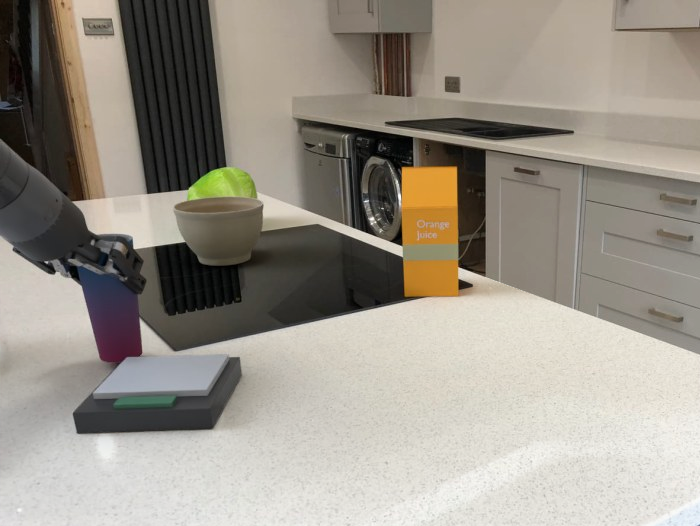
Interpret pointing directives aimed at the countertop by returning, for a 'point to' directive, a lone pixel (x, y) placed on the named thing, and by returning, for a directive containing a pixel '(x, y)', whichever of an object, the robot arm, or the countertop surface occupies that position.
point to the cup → (112, 311)
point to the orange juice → (430, 231)
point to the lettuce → (223, 184)
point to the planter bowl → (220, 228)
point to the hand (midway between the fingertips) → (117, 286)
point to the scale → (160, 394)
